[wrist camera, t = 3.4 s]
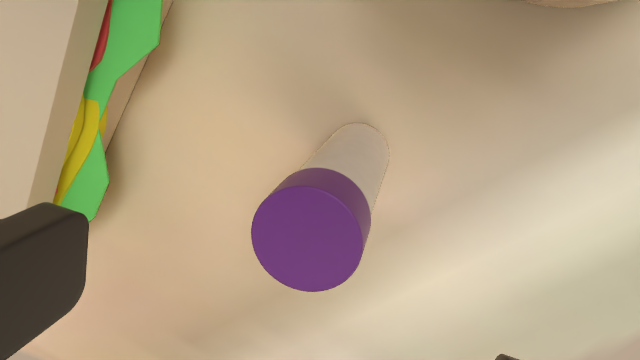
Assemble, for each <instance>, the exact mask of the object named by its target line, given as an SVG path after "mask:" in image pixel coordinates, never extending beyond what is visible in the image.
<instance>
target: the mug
mask: <svg viewBox="0 0 640 360" xmlns="http://www.w3.org/2000/svg"><path fill="white" fill-rule="evenodd" d="M522 1H526V2H529V3H532V4H536V5H542V6H548V7H566V8H578V7H584V6H589V5H595V4H601V3H607V2H613V1H619V0H522Z"/></svg>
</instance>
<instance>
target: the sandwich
mask: <svg viewBox="0 0 640 360" xmlns="http://www.w3.org/2000/svg"><path fill="white" fill-rule="evenodd" d="M172 2H173V0H0V219H4V218H6V217H9V216H11V215H13V214H16V213H18V212H20V211H23V210H25V209H27V208H30V207H32V206H35V205H37V204H39V203H42V202H50V203H53V204H56V205H59V206H62V207H65V208H68V209H71V210H74V211H77V212H80V213H82V214H84V215H85V216H86V217H87V219H88V223H89V222H90V221H91V220H92V219H93V218H95V216H96V214H97V211H98V209H99V207H100V204H101V202H102V199H103V197H104V194H105V192H106V189H107V187H108V185H109V182H110V179H109V174H108V169H107V164H106V159H105V151H106V149H107V147H108V145H109V142H110V140H111V138H112V136H113V133H114V131H115V129H116V127H117V125H118V122H119V120H120V118H121V116H122V113H123V111H124V109H125V107H126V104H127V102H128V100H129V98H130V95H131V93H132V91H133V89H134V87H135V84H136V82H137V80H138V78H139V75H140V73H141V71H142V69H143V66H144V64H145V62H146V60H147V58H148V55H149V53H150V52H151V51H152V50H153V49H154V48H156V47H157V46H158V45H159V44H160V32H161V26H162V24H163V22H164V20H165V17H166V15H167V13H168V11H169V8H170V6H171V4H172Z"/></svg>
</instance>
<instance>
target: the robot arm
mask: <svg viewBox="0 0 640 360" xmlns="http://www.w3.org/2000/svg"><path fill="white" fill-rule="evenodd" d="M88 231H89V223H88V219H87V217H86V216H85V215H84V214H82V213H80V212H77V211H74V210H71V209H68V208H65V207H62V206H59V205H56V204H53V203H50V202H42V203H39V204H37V205H35V206H32V207H30V208H27V209H25V210H23V211H20V212H18V213H16V214H13V215H11V216H9V217H6V218H4V219H0V360H6V359H7V358H9V357H10V356H12V355H13V354H14V353H16V352H17V351H18V350H20V349H21V348H22V347H24V346H25V345H26V344H27V343H29V342H30V341H31V340H33V339H34V338H35V337H37V336H38V335H39V334H41V333H42V332H43V331H45V330H46V329H47V328H49V327H50V326H51V325H53V324H54V323H55V322H57V321H58V320H59V319H60V318H62V317H63V316H64V315H66V314H67V313H68V312H69V311H70V310H71V309H72V308H73V307H74V306H75V305H76V303H77V302H78V300H79V298H80V297H81V295H82V292H83V290H84V286H85V281H86V265H87V248H88ZM495 360H519V359H516V358H513V357H510V356H507V355H504V354H500V355H499V356H497V358H496V359H495Z"/></svg>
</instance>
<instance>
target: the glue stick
mask: <svg viewBox="0 0 640 360" xmlns="http://www.w3.org/2000/svg"><path fill="white" fill-rule="evenodd" d="M388 161H389V148H388V145H387V142H386V140H385V138H384V137H383V136H382V134H381V133H380V132H379V131H378V130H376V129H375V128H373V127H371V126H369V125H366V124H362V123H352V124H347V125H345V126H343V127H341V128H339V129H338V130H337V131H336V132H335V133H334V134H333V135H332V136H331V137H330V138H329V139H328V140H327V141H326V142H325V143H324V144H323V145H322V146H321V147H320V148H319V149H318V150H317V151H316V152H315V153H314V154H313V155H312V156H311V158H310V159H309V160H308V161H307V162H306V163H305V164H304V165H303V166H302V167H301V168H300V169H299V170H298V171H297V172H295V173H293V174H292V175H290V176H288V177H287V178H286V179H285V180H284V181H283V182H282V183H281V184H280V185H279V186H278V187H277V188H276V189H275V190H274V191H273V192H272V193H271V194H270V195H269V196H268V197H267V198H266V199H265V200H264V201H263V202H262V203H261V205H260V206H259V208H258V209H257V211H256V213H255V215H254V218H253V222H252V228H251V238H252V244H253V248H254V251H255V254H256V256H257V258H258V260H259V261H260V263H261V265H262V266H263V267H264V269H265V270H266V271H267V272H268V273H269V274H270V275H271V276H272V277H274V278H275V279H276V280H278V281H279V282H281V283H282V284H284V285H286V286H288V287H291V288H293V289H297V290H301V291H307V292H317V291H324V290H328V289H331V288H334V287H336V286H338V285H340V284H342V283H343V282H344V281H346V280H347V279H348V278H349V277H350V276H351V275H352V274H353V273H354V271H355V270H356V268H357V266H358V265H359V262H360V260H361V257H362V254H363V250H364V247H365V244H366V241H367V237H368V234H369V230H370V226H371V214H372V211H373V207H374V204H375V201H376V198H377V195H378V192H379V189H380V186H381V183H382V180H383V177H384V174H385V171H386V168H387V165H388Z"/></svg>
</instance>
